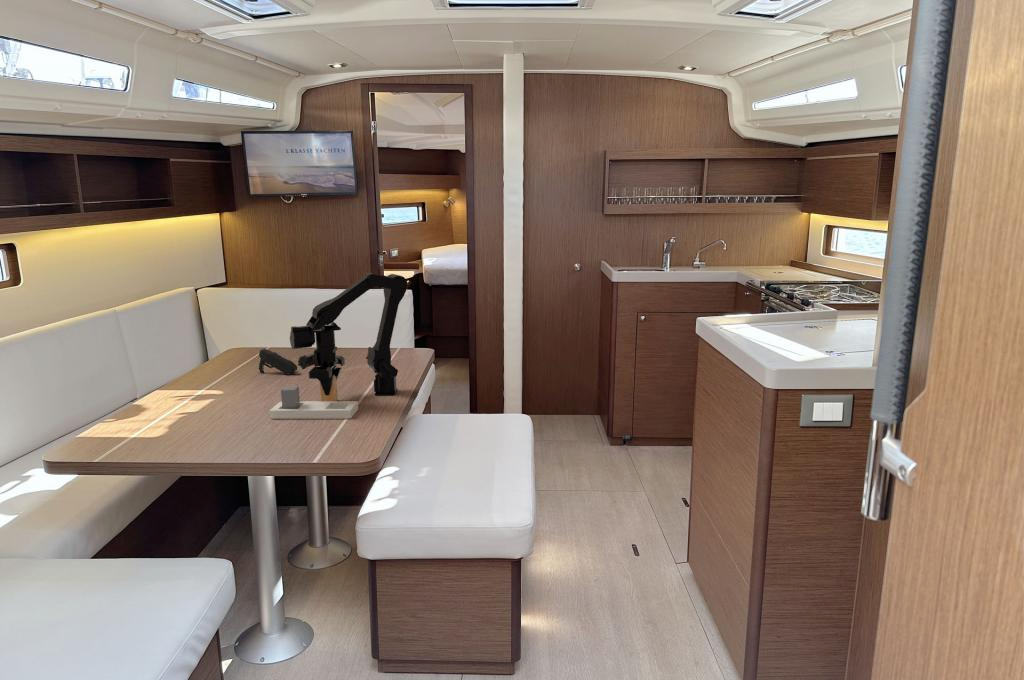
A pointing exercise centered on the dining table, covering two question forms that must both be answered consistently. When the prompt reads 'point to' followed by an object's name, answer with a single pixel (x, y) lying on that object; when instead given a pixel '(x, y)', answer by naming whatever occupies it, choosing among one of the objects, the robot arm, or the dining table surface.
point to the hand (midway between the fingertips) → (329, 393)
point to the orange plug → (332, 394)
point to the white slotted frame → (316, 410)
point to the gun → (276, 362)
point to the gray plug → (290, 397)
